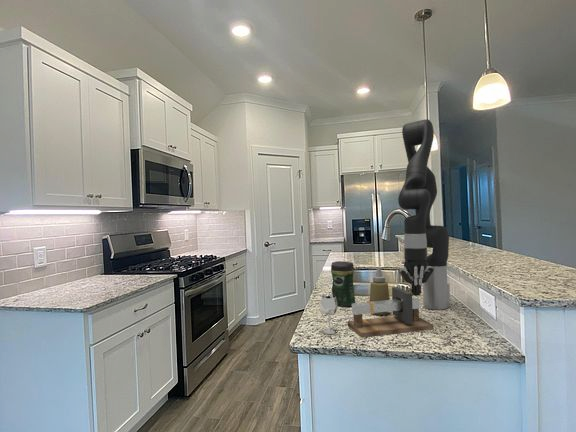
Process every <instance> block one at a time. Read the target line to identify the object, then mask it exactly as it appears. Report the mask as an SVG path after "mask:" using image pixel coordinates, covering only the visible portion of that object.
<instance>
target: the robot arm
mask: <svg viewBox="0 0 576 432" xmlns="http://www.w3.org/2000/svg"><path fill="white" fill-rule="evenodd" d="M401 133H402V139H403V145H404V149H405V153H406V158H407V166H406V171H405V181H404V183H403V186H402V188H401V189H400V191H399V195H398V198H397V201H398V205H399V207H400V208H401V209H403V210H406V211H407V210H415V215H410V216H407V217H405V218H404V223H403V224H404V229H403V230H404V236H403V252H404V253H403V254H404V256H403V257H404V263H403V267H402V268H401V269H398V271H397V273H398V274H400V276H401V277H402V279H403V280H404V281H405V282H406V284H409V285H411V293H412V296H415V297H418V296H419V297H420V296H421V294H423V295H422V299H423V300H422V302H423V305H422V306H423V307H424V308H425V309H426V308H427V309H428V310H429V309H430V310H440V311H441V310H446V309H448V308H451V290H450V289H451V285H450V283H448V259H449V252H450V251H449V249H450V248H449V247H450V246H449V245H450V236H449V235H450V234H449V231H448V229H447V227H445V226H444V225H433V224H431V220H430V219H431V217H430V213H431V211H432V208H433V205H434V203H435V201H436V198H437V195H438V189H437V188H438V187H437V182H436V175H435V173H433V171H432V170H431V169H430V168H429V167H428V164H429V163H428V162H429V159H430V154H431V151H432V147H433V143H434V142H433V141H434V138H435V137H434V135H435V133H434V126H433V123H432V121H431V120H430V119H420V120H417V121H413V122H407V123H405V124H403V126H402V130H401ZM416 146H417V147H418V146H419V148H418V150H416ZM428 248H429V249H432V252H431V254H428Z"/></svg>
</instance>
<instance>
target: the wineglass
mask: <svg viewBox="0 0 576 432" xmlns="http://www.w3.org/2000/svg"><path fill="white" fill-rule="evenodd" d="M319 305H320V311H321V313H322V314H324V315H325V316H328V317H327V321H328V328H327V329H326V328H325V329H324V330H323V331H322V332H323V333H324V334H328V335H333V334H336V333H337V330H336V329H334V328H332V327H331V319H332V316H334V315H335V314H336V313H337V312H338V305H337V300H336V296H334V295H332V294H325V295H322V296H321V299H320V304H319Z"/></svg>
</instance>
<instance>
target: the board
mask: <svg viewBox="0 0 576 432" xmlns="http://www.w3.org/2000/svg"><path fill="white" fill-rule="evenodd" d="M352 315H353V319H352V320H347V326H348V327H349V328H350V329H351V330H352V331H353V332H355V334H357V335H358V336H359V337H360V338H369V337H376V336H377V337H378V336H385V335H394V334H402V333H414V332H419V331H421V332H423V331H429V330H434V329H435V328H434V324H433V323H431V322H429V321H427V320H425V319H424V318H422V317H420V308H418V309H413V323H408V324H407V323H406V322H404V321H402V320H401V319H399V318H397V317H396V316H394V315H392V316H391V315H390V316H386V317H385V316H384V317H376V318H375V317H374V318H365V319H364V318H363V314H359V315H355V314H354V313H352Z"/></svg>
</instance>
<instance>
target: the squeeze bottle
mask: <svg viewBox="0 0 576 432" xmlns="http://www.w3.org/2000/svg"><path fill="white" fill-rule="evenodd" d="M375 273H376V274H375V276H374V275H373V276H372V282H370V288H369V290H370V291H369V301H370V302H374V301H384V300H391V299H390V298H391V297H390V289H389V285H388V282H386V277H385V276H384V275H383V273H382V269H381V267H380V266H378V267H376V272H375ZM388 314H389V312H379V313H374V314H373V315H377V316H385V315H388Z"/></svg>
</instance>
